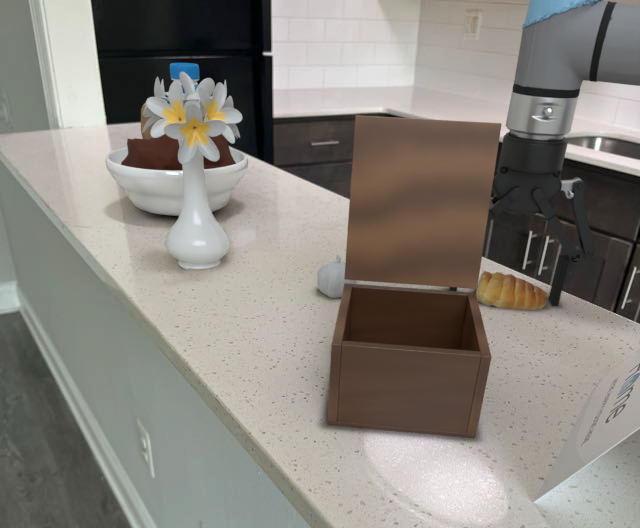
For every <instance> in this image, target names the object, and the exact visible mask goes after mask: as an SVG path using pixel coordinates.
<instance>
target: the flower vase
mask: <svg viewBox="0 0 640 528" xmlns="http://www.w3.org/2000/svg"><path fill="white" fill-rule="evenodd" d="M179 77H180V81H181V83H182V86H183V88H184V90H185V94H184V93H183V90H182V86H181V84H180V82H179V81H174V80H172V81H171V83H170V86H169V89H168V91H165V84H164V78H162V79H161V81H160V79H159V76H156V78H155V80H154V81H155V82H154V86H153V94H154V95H153V96H149V97H148V98H147V99H146V101H145V103H146V105H147V106H146V107H145V109H144V112H143V116H144V117H152V118H150V119H149V120H148V121H147V122H146V124H145V126H144V128H143V130H142V133H143V132H144V131H145V130H147V129H148V128H149V127H150V126H151V125H152V124H153V123H155V122H156V121H157V120H158V121H157V122H156V123H155V124H154V125H153V127H152V129H151V132H150V134H151V136H152V137H153V138H157V137H160V136H162V135H164V134H166V135H167V136H169V137H171V138H173V139H178V143H179V147H180V148H179V151H178V160H179V162H180V163H181V164H182V170H183V204H182V209H181V212H180V215H179V216H178V218H177V219H176V221H175V222H174V223H173V224H172V225H171V227H170V229H169V230H168V232H167V234H166V237H165V245H166V250H167V252H169V254H170V255H171V256H172V257H173V258H175V259H176V260H177V263H178V266H179V267H180V268H181V269H184V270H186V271H188V270H189V269H192V270H193V269H194V270H201V269H202V270H205V269H210V268H214V267H216V266H219V265H220V264H221V259H222V258H223V257H225V255H227V253H228V251H229V250H230V246H231V238H230V235H229V234H228V232H227V230H226V229H225V227H224V226H223V225H222V224H221V223H220V222H219V221H218V220H217V219H216V218H215V216H214V214H213V212H211V209H210V207H209V204H208V199H207V193H206V184H205V174H204V156H205V157H206V158H207V159H209V160H211V161H218V160H219V158H220V154H219V151H218V149H217V147H216V145H215V144H214V142H213V141H212V140H211V139H210V137H209V136H211V137H215V136H218V135H220V134H222V135H223V136H224V137H225V138H226V139H227V141H228V143H230V144H232V145H233V144H235V142H236V139H237V140H238V138H239V139H241V135H240V131H239V128H238V126H237V124H239V123H241V122H242V121H243V114H242V113H241V112H240V111H239V110H238V109H236V108H235V107H234V100H233V97H232V96H231V95H228V88H227V80H226V79H224V83H222V82H217V83H216V85H215V81H214V80H213V78H211V77H206V78H204V79H202V80H201V81H200V82H199V83H198V87H197V89H196V90H195V85H194V83H193V81H192V79H191V78H190V77H189V76H188V75H187V74H186V73H185V72H180V74H179ZM227 95H228V97H227ZM161 117H162V118H163V119H160V118H161ZM159 119H160V120H159Z"/></svg>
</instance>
